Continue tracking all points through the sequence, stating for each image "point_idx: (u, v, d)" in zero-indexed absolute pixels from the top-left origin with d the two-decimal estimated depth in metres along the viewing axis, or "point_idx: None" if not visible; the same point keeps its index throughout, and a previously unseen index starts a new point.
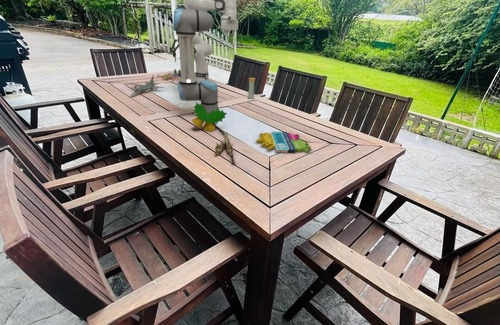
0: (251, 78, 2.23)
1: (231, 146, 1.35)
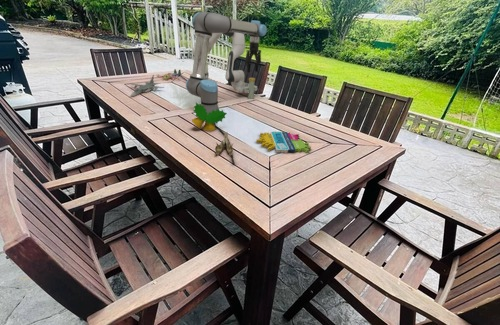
0: (251, 78, 2.23)
1: (231, 146, 1.35)
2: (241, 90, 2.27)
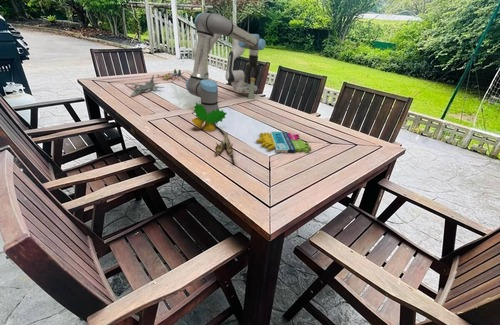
0: (251, 78, 2.23)
1: (231, 146, 1.35)
2: (241, 90, 2.27)
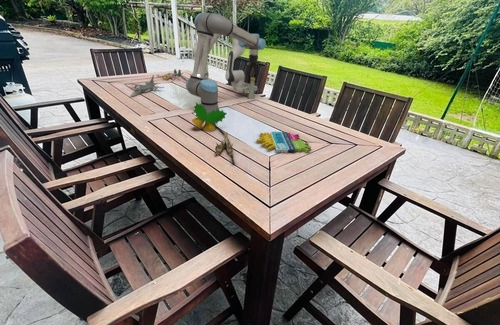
0: (253, 78, 2.23)
1: (231, 146, 1.35)
2: (241, 90, 2.27)
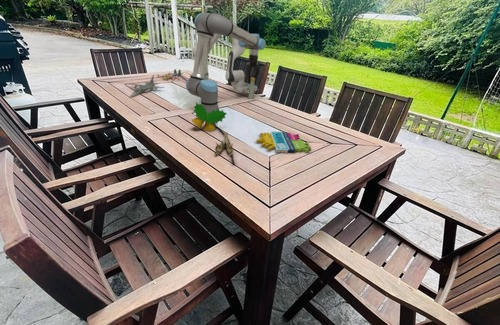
0: (253, 78, 2.23)
1: (231, 146, 1.35)
2: (241, 90, 2.27)
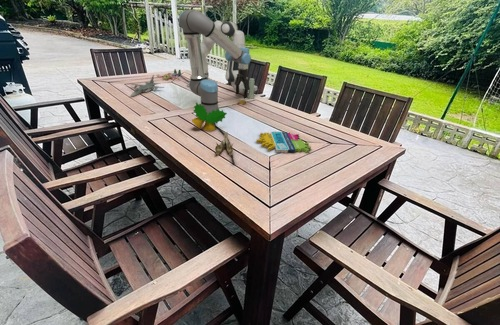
0: (242, 100, 2.17)
1: (231, 146, 1.35)
2: (241, 90, 2.27)
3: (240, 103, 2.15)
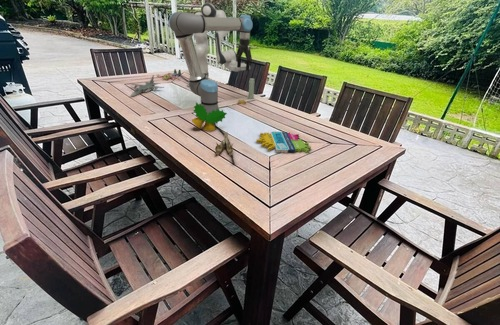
0: (242, 100, 2.17)
1: (231, 146, 1.35)
2: (234, 68, 2.29)
3: (240, 103, 2.15)
